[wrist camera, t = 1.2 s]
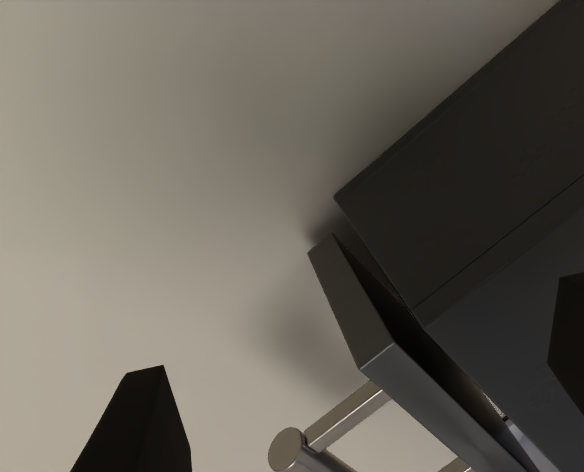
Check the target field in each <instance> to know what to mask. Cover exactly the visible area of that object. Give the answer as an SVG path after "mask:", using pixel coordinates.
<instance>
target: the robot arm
mask: <svg viewBox="0 0 584 472" xmlns="http://www.w3.org/2000/svg"><path fill="white" fill-rule="evenodd" d="M547 364H548V366H549V367H550V369H551V370H552V372H553V373H554V375H555V376H556V378H557V379H558V381H559V382H560V384H561V385H562V387H563V388H564V390H565V391H566V392H567V394H568V395H569V397H570V398H571V399H572V401H573V402H574V403H575V405H576V406H577V408H578V409H579V410H580V412H581V413H582V414H583V415H584V272H582V273H577V274H572V275H568V276H563V277H559V284H558V291H557V297H556V304H555V311H554V318H553V324H552V331H551V338H550V345H549V351H548V358H547ZM505 424H506V425H507V427H508V428H509V429H510V431H511V432H512V434H513V435H514V436H515V438H516V439H517V440H518V442H519V443H520V445H521V446H522V447H523V449H524V450H525V452H526V453H527V454H528V456H529V457H530V458H531V460H532V461H533V463H534V464H535V465H536V467H537V468H538V470H539V471H540V472H560V471H559V470H558V469H557V468H556V467H555V466H554V465H553V464H552V463H551V462H550V461H549V460H548V459H547V458H546V457H545V456H544V455H543V454H542V453H541V451H540V450H539V449H538V448H537V447H536V446H535V445H534V444H533V443H532V442H531V441H530V440H529V439H528V438H527V437H526V436H525V435H524V434H523V433H522V432H521V431H520V430H519V429H518V428H517V426H516V425H515V424H514V423H513V422H512V421H511V420H510V419H508V420H507V421H506V422H505ZM70 472H192V464H191V449H190V445H189V442H188V439H187V436H186V433H185V430H184V427H183V424H182V421H181V418H180V415H179V412H178V408H177V405H176V402H175V399H174V396H173V393H172V390H171V387H170V384H169V381H168V378H167V375H166V372H165V368H164V365H160V366H156V367H151V368H147V369H142V370H138V371H133V372H129V373H126V375H125V376H124V377H123V379H122V380H121V382H120V384H119V386H118V388H117V389H116V391H115V393H114V395H113V397H112V399H111V401H110V402H109V404H108V406H107V408H106V410H105V412H104V413H103V415H102V417H101V419H100V421H99V423H98V424H97V426H96V428H95V430H94V431H93V433H92V435H91V437H90V439H89V440H88V442H87V444H86V446H85V447H84V449H83V451H82V452H81V454H80V456H79V457H78V459H77V461H76V462H75V464H74V466H73V468H72V469H71V471H70Z"/></svg>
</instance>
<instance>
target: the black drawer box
mask: <svg viewBox="0 0 584 472" xmlns="http://www.w3.org/2000/svg"><path fill="white" fill-rule="evenodd" d="M334 199H335V201H336V202H337V204H338V205H339V207H340V208H341V210H342V211H343V213H344V214H345V216H346V217H347V219H348V220H349V222H350V223H351V224H352V226H353V227H354V229H355V230H356V232H357V233H358V235H359V236H360V238H361V239H362V241H363V242H364V244H365V245H366V247H367V248H368V249H369V251H370V252H371V254H372V255H373V257H374V258H375V260H376V261H377V263H378V264H379V266H380V267H381V269H382V270H383V271H384V273H385V274H386V276H387V277H388V279H389V280H390V282H391V283H392V285H393V286H394V288H395V289H396V291H397V292H398V293H399V295H400V296H401V298H402V299H403V301H404V302H405V304H406V305H407V307H408V308H409V310H410V311H411V312H412V314H413V315H414V317H415V318H416V320H417V321H418V323H419V324H420V326H421V327H422V329H423V330H424V331H425V332H426V333H427V334H428V335H429V336H430V337H431V338H432V339H433V340H434V341H435V342H436V343H437V344H438V345H439V346H440V347H441V348H442V349H443V351H444V352H445V353H446V354H447V355H448V356H449V357H450V358H451V359H452V360H453V361H454V362H455V363H456V364H457V365H458V366H459V367H460V368H461V369H462V370H463V371H464V372H465V373H466V374H467V375H468V377H469V378H470V379H471V380H472V381H473V382H474V383H475V384H476V385H477V386H478V387H479V388H480V389H481V390H482V391H483V392H484V393H485V394H486V395H487V396H488V397H489V398H490V399H491V400H492V402H493V403H494V404H495V405H496V406H497V407H498V408H499V409H500V410H501V411H502V412H503V413H504V414H505V415H506V416H507V417H508V418H509V419H510V420H511V421H512V422H513V423H514V424H515V425H516V426H517V428H518V429H519V430H520V431H521V432H522V433H523V434H524V435H525V436H526V437H527V438H528V439H529V440H530V441H531V442H532V443H533V444H534V445H535V446H536V447H537V448H538V449H539V450H540V451H541V453H542V454H543V455H544V456H545V457H546V458H547V459H548V460H549V461H550V462H551V463H552V464H553V465H554V466H555V467H556V468H557V469H558V470H559V471H560V472H584V415H583V414H582V413H581V412H580V410H579V409H578V408H577V406H576V405H575V403H574V402H573V401H572V399H571V398H570V397H569V395H568V394H567V392H566V391H565V390H564V388H563V387H562V385H561V384H560V382H559V381H558V379H557V378H556V376H555V375H554V373H553V372H552V370H551V369H550V367H549V366H548V364H547V358H548V351H549V345H550V338H551V331H552V324H553V318H554V311H555V304H556V297H557V291H558V284H559V277H563V276H568V275H572V274H577V273H582V272H584V0H561V1H560V2H559V3H557V4H556V5H555V6H554V7H553V8H552V9H550V10H549V11H548V12H547V13H546V14H545V15H543V16H542V17H541V18H540V19H539V20H538V21H537V22H535V23H534V24H533V25H532V26H531V27H530V28H528V29H527V30H526V31H525V32H524V33H523V34H521V35H520V36H519V37H518V38H517V39H516V40H514V41H513V42H512V43H511V44H510V45H509V46H507V47H506V48H505V49H504V50H503V51H502V52H501V53H499V54H498V55H497V56H496V57H495V58H494V59H492V60H491V61H490V62H489V63H488V64H487V65H485V66H484V67H483V68H482V69H481V70H480V71H478V72H477V73H476V74H475V75H474V76H473V77H472V78H470V79H469V80H468V81H467V82H466V83H465V84H463V85H462V86H461V87H460V88H459V89H458V90H456V91H455V92H454V93H453V94H452V95H451V96H449V97H448V98H447V99H446V100H445V101H444V102H442V103H441V104H440V105H439V106H438V107H437V108H436V109H434V110H433V111H432V112H431V113H430V114H429V115H427V116H426V117H425V118H424V119H423V120H422V121H420V122H419V123H418V124H417V125H416V126H415V127H413V128H412V129H411V130H410V131H409V132H408V133H407V134H405V135H404V136H403V137H402V138H401V139H400V140H398V141H397V142H396V143H395V144H394V145H393V146H391V147H390V148H389V149H388V150H387V151H386V152H384V153H383V154H382V155H381V156H380V157H379V158H377V159H376V160H375V161H374V162H373V163H372V164H371V165H369V166H368V167H367V168H366V169H365V170H364V171H362V172H361V173H360V174H359V175H358V176H357V177H355V178H354V179H353V180H352V181H351V182H350V183H348V184H347V185H346V186H345V187H344V188H343V189H342V190H340V191H339V192H338V193H337V194H336V195H335V196H334Z"/></svg>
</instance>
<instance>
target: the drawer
mask: <svg viewBox="0 0 584 472" xmlns="http://www.w3.org/2000/svg"><path fill="white" fill-rule="evenodd" d="M307 254H308V257H309V259H310V261H311V263H312V266H313V268H314V270H315V272H316V275H317V277H318V279H319V281H320V284H321V286H322V288H323V290H324V293H325V295H326V297H327V299H328V302H329V304H330V306H331V309H332V311H333V313H334V315H335V318H336V320H337V322H338V324H339V327H340V329H341V331H342V333H343V336H344V338H345V340H346V342H347V345H348V347H349V349H350V352H351V354H352V356H353V358H354V361H355V363H356V365H357V367H358V369H359V370H360V371H361V372H362V373H363V374H364V375H366V376H367V377H368V378H369V379H370V381H368V382H367V383H366V384H364V385H363V386H362V387H361V388H359V389H358V390H357V391H355V392H354V393H353V394H351V395H350V396H349V397H348V398H346V399H345V400H344V401H342V402H341V403H340V404H338V405H337V406H336V407H335V408H333V409H332V410H331V411H329V412H328V413H327V414H325V415H324V416H323V417H321V418H320V419H319V420H318V421H316V422H315V423H314V424H312V425H311V426H310V427H308V428H307V429H306V430H305V431H304V433H305V434H304V433H302V432H301V431H300V430H298V429H297V428H293V427H289V428H286V429H284V430H282V431H281V432H279V433H278V434H277V436H276V437H275V438H274V440H273V441H272V443H271V445H270V448H269V452H268V462H269V465H270V467H271V469H272V470H274V471H275V472H357V471H356V470H354V469H353V468H351V467H350V466H349V465H347V464H346V463H344V462H343V461H342V460H340V459H339V458H337V457H336V456H335V455H333V454H332V453H330V452H329V451H328V450H326V448H327V447H328V446H330V445H331V444H332V443H334V442H335V441H336V440H338V439H339V438H340V437H342V436H343V435H344V434H346V433H347V432H348V431H350V430H351V429H352V428H354V427H355V426H356V425H358V424H359V423H360V422H361V421H363V420H364V419H365V418H367V417H368V416H369V415H371V414H372V413H373V412H375V411H376V410H377V409H379V408H380V407H381V406H383V405H384V404H385V403H387V402H388V401H389V400H391V399H393V400H394V401H395V402H396V403H398V404H399V405H400V406H401V407H402V408H403V409H404V410H406V411H407V412H408V413H409V414H410V415H411V416H412V417H414V418H415V419H416V420H417V421H418V422H419V423H420V424H422V425H423V426H424V427H425V428H426V429H427V430H428V431H430V432H431V433H432V434H433V435H434V436H435V437H436V438H438V439H439V440H440V441H441V442H442V443H443V444H444V445H446V446H447V447H448V448H449V449H450V450H451V451H452V452H454V453H455V454H456V455H457V456H458V458H456V459H455V460H453V461H452V462H451V463H449V464H448V465H446V466H445V467H444V468H442V469H441V470H439V471H438V472H540V471H539V470H538V468H537V467H536V465H535V464H534V463H533V461H532V460H531V458H530V457H529V456H528V454H527V453H526V452H525V450H524V449H523V447H522V446H521V445H520V443H519V442H518V440H517V439H516V438H515V436H514V435H513V434H512V432H511V431H510V429H509V428H508V427H507V425H506V424H505V422H504V421H503V420H502V418H501V417H500V416H499V414H498V413H497V411H496V410H495V409H494V407H493V406H492V405H491V403H490V402H489V400H488V399H487V398H486V396H485V395H484V393H483V392H482V391H481V389H480V388H479V387H478V386H477V385H476V384H475V383H474V382H473V381H472V380H471V379H470V378H469V377H468V375H467V374H466V373H465V372H464V371H463V370H462V369H461V368H460V367H459V366H458V365H457V364H456V363H455V362H454V361H453V360H452V359H451V358H450V357H449V356H448V355H447V354H446V353H445V352H444V351H443V349H442V348H441V347H440V346H439V345H438V344H437V343H436V342H435V341H434V340H433V339H432V338H431V337H430V336H429V335H428V334H427V333H426V332H425V331H424V330H423V329H422V327H421V326H420V324H419V323H418V322H417V321H416V320H415V318H414V317H413V316H412V315H411V314H410V313H409V312H408V311H407V310H406V309H405V308H404V307H403V306H402V305H401V304H400V303H399V302H398V301H397V300H396V299H395V298H394V297H393V295H392V294H391V293H390V292H389V291H388V290H387V289H386V288H385V287H384V286H383V285H382V284H381V283H380V282H379V281H378V280H377V279H376V278H375V277H374V276H373V275H372V274H371V273H370V271H369V270H368V269H367V268H366V267H365V266H364V265H363V264H362V263H361V262H360V261H359V260H358V259H357V258H356V257H355V256H354V255H353V254H352V253H351V252H350V251H349V250H348V249H347V247H346V246H345V245H344V244H343V243H342V242H341V241H340V240H339V239H338V238H337V237H336V236H335V235H334V234H333V233H330V234H329V235H328V236H326V237H325V238H324V239H323V240H322V241H320V242H319V243H318V244H317V245H316V246H315V247H313V248H312V249H311V250H310V251H309V252H308V253H307Z"/></svg>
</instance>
